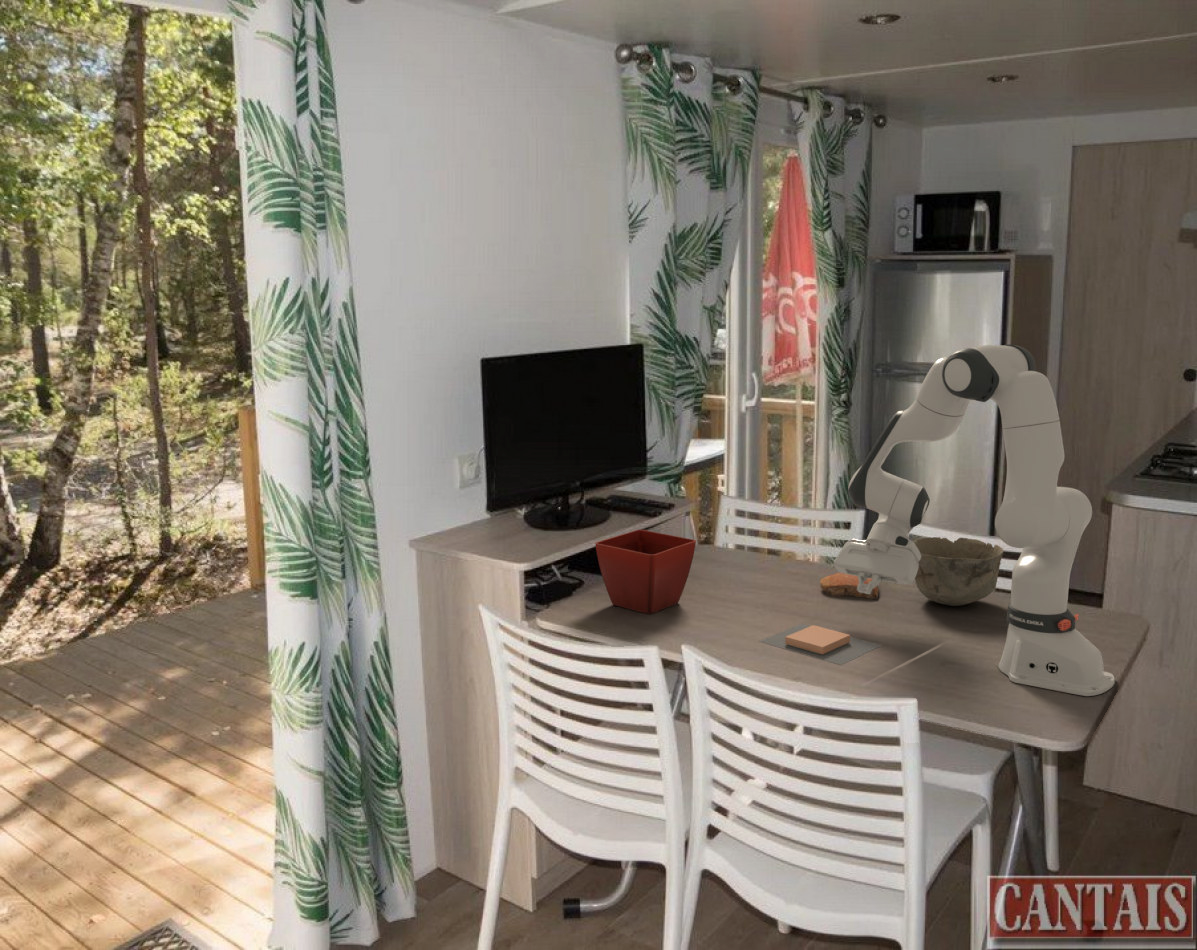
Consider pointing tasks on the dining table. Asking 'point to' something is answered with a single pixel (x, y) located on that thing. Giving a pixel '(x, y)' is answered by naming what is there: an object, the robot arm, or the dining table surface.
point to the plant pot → (645, 569)
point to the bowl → (957, 569)
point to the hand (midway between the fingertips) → (863, 592)
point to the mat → (835, 656)
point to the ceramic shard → (845, 585)
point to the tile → (817, 639)
